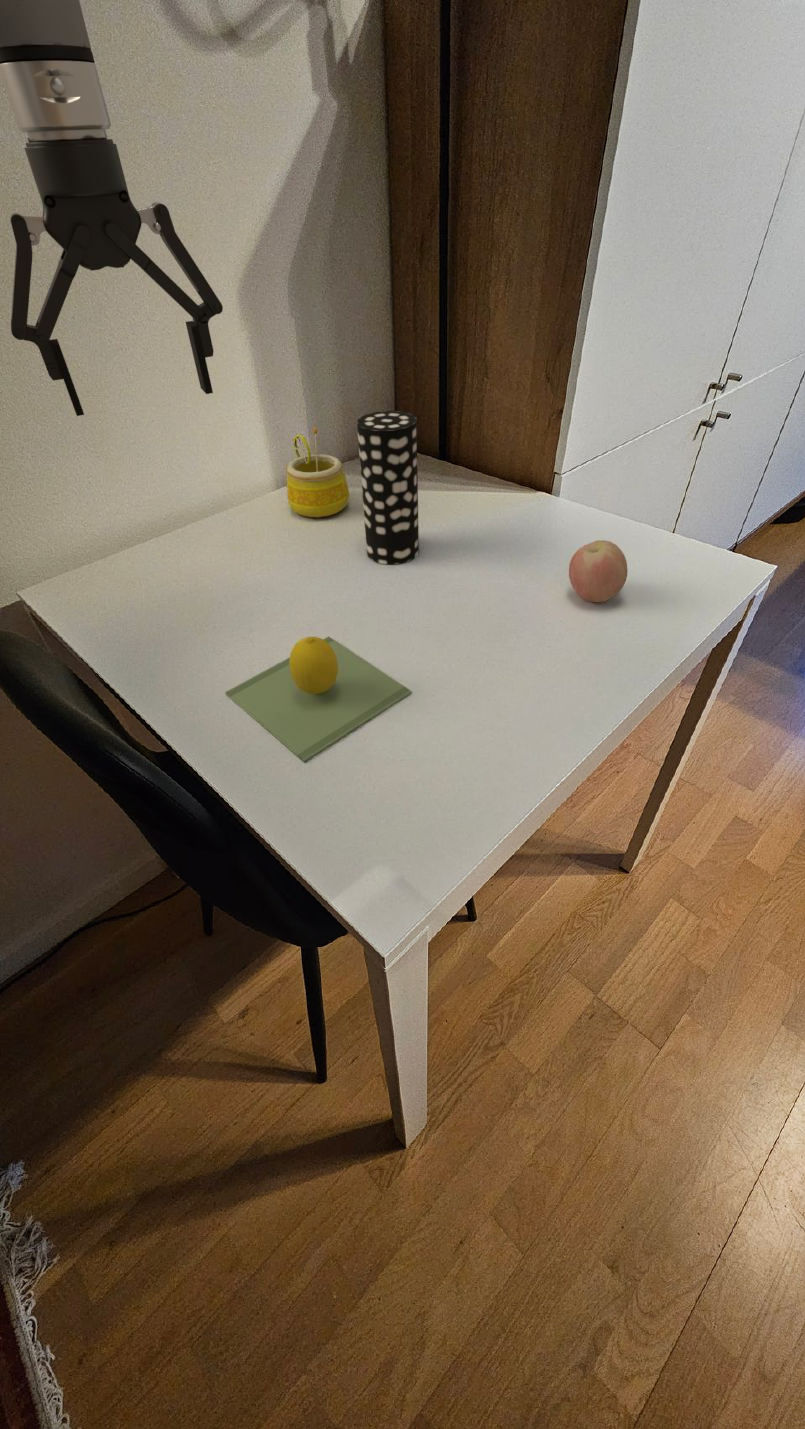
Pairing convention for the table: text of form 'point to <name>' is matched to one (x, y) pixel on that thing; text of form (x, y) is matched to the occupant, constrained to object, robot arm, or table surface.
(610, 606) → the table surface
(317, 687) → the lemon
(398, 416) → the white-spotted black cylinder
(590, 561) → the apple
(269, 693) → the napkin
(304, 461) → the yellow pot
